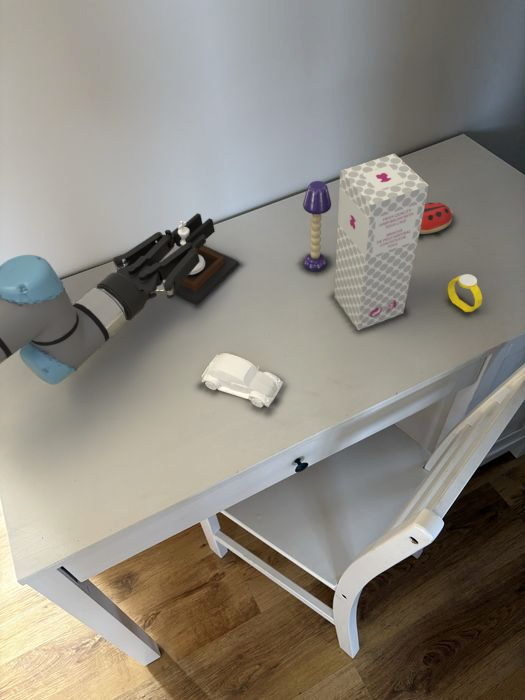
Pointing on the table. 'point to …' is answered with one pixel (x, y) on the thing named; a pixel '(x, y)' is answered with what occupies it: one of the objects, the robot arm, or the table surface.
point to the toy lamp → (316, 222)
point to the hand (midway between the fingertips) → (206, 222)
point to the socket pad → (206, 275)
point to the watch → (468, 283)
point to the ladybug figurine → (435, 218)
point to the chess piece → (184, 234)
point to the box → (377, 238)
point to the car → (241, 379)
